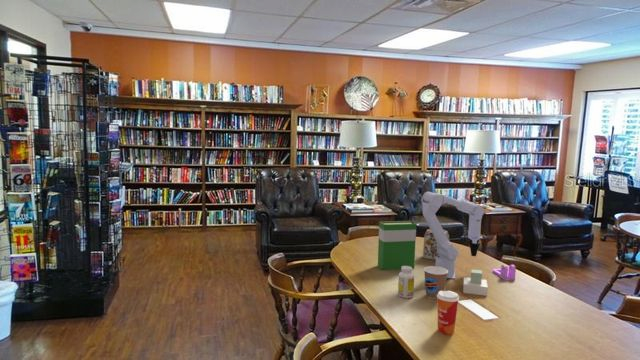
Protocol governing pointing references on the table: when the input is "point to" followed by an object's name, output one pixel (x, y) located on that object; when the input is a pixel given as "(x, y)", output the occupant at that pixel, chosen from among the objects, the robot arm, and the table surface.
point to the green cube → (476, 276)
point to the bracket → (506, 272)
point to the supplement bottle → (406, 282)
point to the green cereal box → (396, 244)
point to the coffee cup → (434, 280)
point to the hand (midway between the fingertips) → (473, 253)
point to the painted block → (475, 287)
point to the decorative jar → (431, 245)
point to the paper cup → (447, 311)
